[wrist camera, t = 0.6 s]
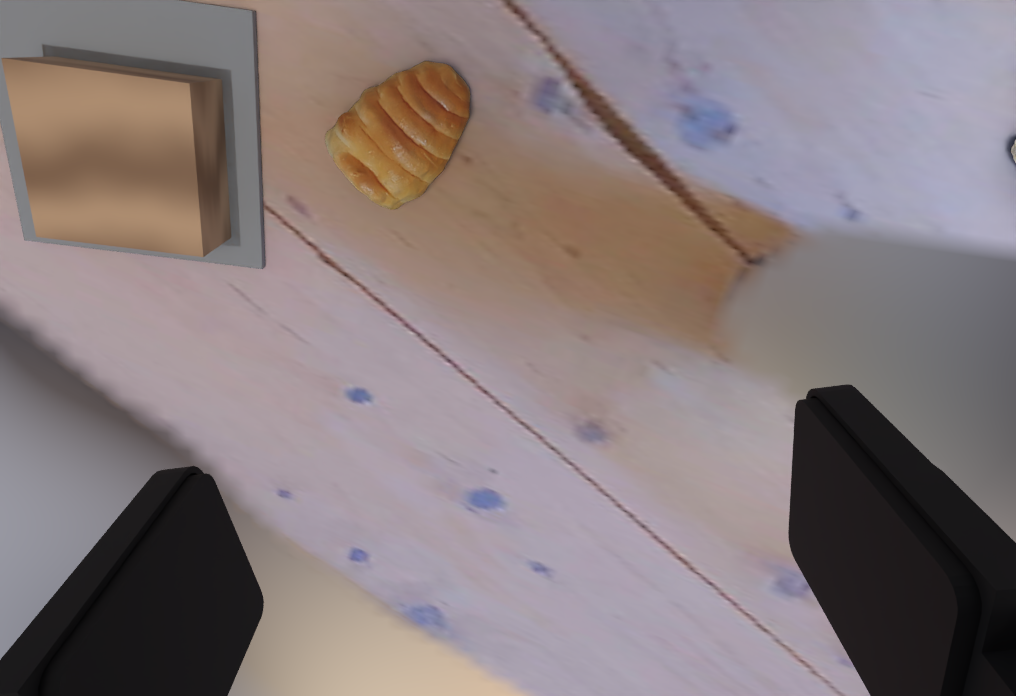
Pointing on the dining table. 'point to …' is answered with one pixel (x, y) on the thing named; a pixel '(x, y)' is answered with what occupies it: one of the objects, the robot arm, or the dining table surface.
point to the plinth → (123, 152)
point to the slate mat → (160, 36)
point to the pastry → (401, 133)
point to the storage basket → (1014, 151)
